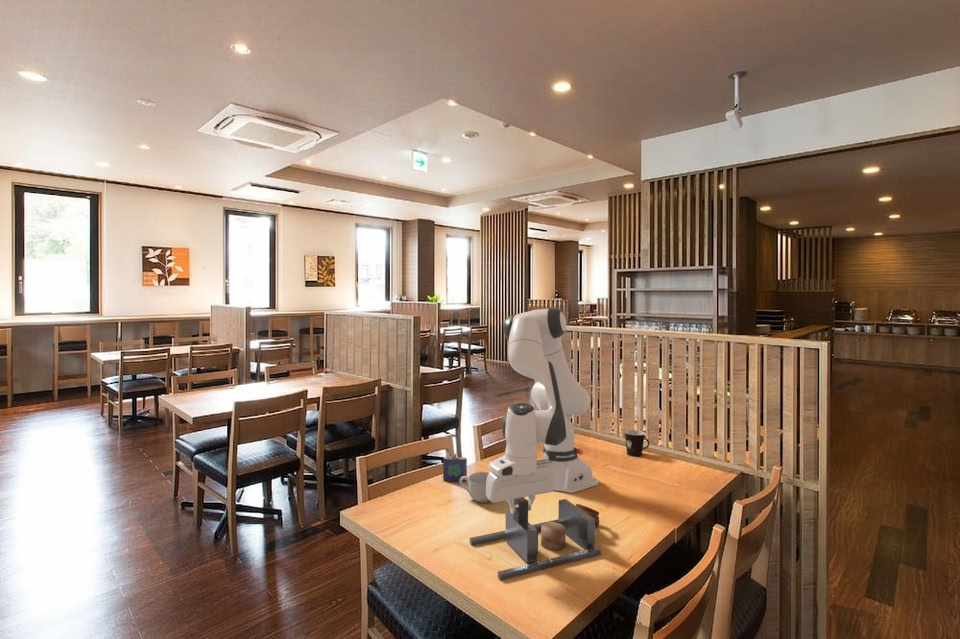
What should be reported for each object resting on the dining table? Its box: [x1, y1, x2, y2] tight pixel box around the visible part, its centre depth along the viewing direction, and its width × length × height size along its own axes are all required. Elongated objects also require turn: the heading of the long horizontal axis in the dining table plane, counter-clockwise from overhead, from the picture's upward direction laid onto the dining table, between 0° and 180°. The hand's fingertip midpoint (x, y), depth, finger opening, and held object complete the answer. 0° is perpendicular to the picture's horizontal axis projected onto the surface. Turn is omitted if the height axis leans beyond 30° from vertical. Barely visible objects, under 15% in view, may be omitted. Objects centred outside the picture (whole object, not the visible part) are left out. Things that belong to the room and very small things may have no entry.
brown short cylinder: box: [540, 521, 567, 552], centre depth 144 cm, size 7×7×5 cm
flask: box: [442, 452, 468, 483], centre depth 192 cm, size 9×3×11 cm, turn 88°
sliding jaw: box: [505, 497, 539, 564], centre depth 139 cm, size 4×13×14 cm, turn 23°
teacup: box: [458, 471, 491, 504], centre depth 176 cm, size 14×11×8 cm
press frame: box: [469, 498, 602, 581], centre depth 141 cm, size 31×21×9 cm
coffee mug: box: [624, 429, 650, 458], centre depth 222 cm, size 12×9×10 cm
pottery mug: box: [575, 503, 600, 528], centre depth 153 cm, size 12×10×8 cm
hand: (520, 511), depth 139 cm, fingers closed on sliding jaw, 3 cm apart
